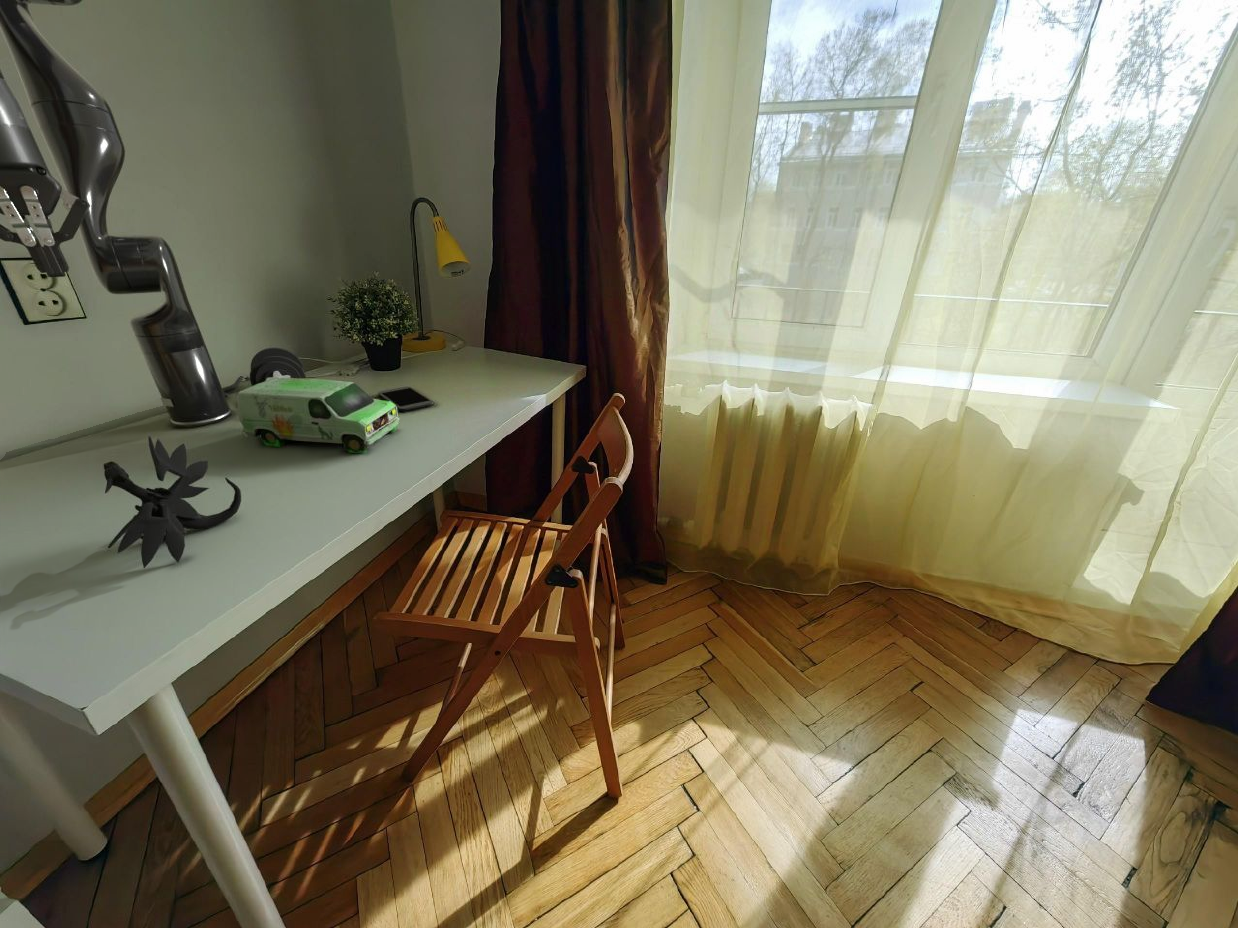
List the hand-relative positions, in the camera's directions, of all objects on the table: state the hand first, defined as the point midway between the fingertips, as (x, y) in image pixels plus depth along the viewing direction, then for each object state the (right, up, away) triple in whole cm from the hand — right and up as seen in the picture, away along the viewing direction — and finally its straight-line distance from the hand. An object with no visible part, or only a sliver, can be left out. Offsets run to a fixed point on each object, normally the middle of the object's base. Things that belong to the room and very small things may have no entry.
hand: (57, 276), depth 66 cm
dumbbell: (+1, -10, +44) cm, 45 cm away
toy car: (+22, -21, +24) cm, 39 cm away
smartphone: (+29, -11, +42) cm, 52 cm away
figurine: (+23, -36, -5) cm, 43 cm away
